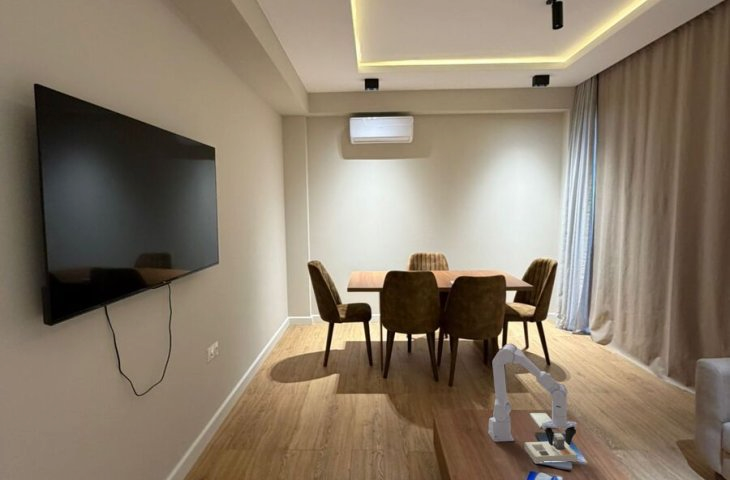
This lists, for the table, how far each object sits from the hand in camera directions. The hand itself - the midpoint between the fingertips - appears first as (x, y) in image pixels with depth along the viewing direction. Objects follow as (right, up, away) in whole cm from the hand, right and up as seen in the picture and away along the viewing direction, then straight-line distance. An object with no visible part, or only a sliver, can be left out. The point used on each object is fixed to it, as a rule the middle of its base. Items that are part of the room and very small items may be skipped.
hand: (559, 443), depth 163 cm
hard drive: (+5, -4, +26) cm, 27 cm away
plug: (0, -4, 0) cm, 4 cm away
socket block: (-4, -4, -1) cm, 6 cm away
